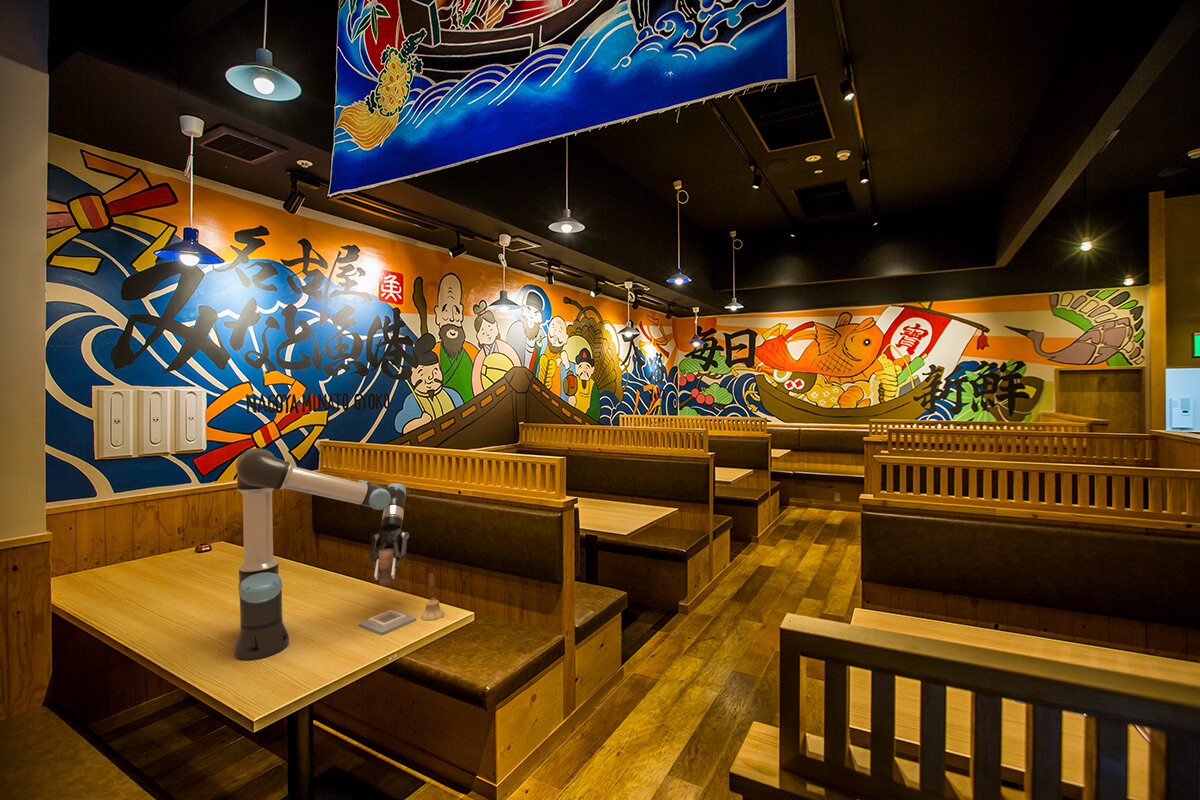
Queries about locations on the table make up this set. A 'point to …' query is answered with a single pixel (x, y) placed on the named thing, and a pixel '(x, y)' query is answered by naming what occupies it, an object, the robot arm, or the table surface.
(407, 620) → the board
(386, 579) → the walnut pin
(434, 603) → the hand bell
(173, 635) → the table surface
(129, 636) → the table surface
